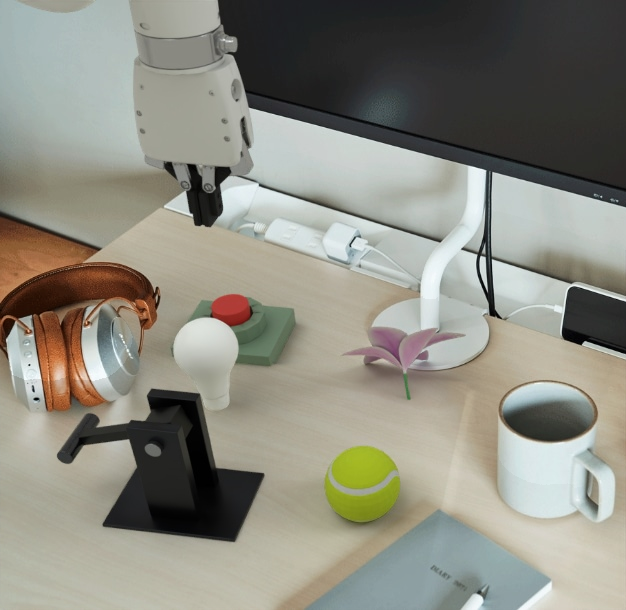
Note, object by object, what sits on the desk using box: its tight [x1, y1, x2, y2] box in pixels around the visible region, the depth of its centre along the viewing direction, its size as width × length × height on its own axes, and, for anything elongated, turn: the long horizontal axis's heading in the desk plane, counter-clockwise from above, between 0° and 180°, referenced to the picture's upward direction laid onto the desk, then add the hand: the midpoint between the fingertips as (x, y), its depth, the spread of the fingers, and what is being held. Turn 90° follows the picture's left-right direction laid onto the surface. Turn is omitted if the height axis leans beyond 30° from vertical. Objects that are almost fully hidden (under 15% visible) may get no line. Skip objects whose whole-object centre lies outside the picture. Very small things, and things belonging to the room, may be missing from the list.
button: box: [211, 293, 251, 327], centre depth 101 cm, size 4×4×2 cm
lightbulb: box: [173, 318, 239, 412], centre depth 91 cm, size 6×6×11 cm
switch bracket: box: [101, 388, 265, 543], centre depth 80 cm, size 12×8×12 cm, turn 82°
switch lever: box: [56, 405, 193, 465], centre depth 79 cm, size 11×5×2 cm, turn 82°
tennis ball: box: [324, 445, 401, 523], centre depth 82 cm, size 7×7×7 cm
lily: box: [340, 325, 467, 401], centre depth 96 cm, size 12×12×10 cm
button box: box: [170, 296, 297, 367], centre depth 103 cm, size 11×9×4 cm
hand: (208, 219), depth 94 cm, fingers closed
